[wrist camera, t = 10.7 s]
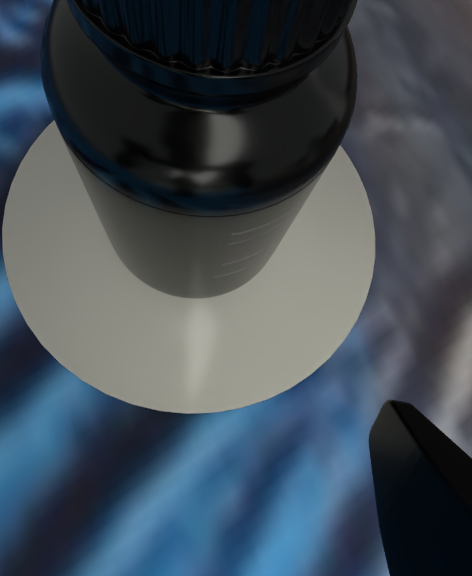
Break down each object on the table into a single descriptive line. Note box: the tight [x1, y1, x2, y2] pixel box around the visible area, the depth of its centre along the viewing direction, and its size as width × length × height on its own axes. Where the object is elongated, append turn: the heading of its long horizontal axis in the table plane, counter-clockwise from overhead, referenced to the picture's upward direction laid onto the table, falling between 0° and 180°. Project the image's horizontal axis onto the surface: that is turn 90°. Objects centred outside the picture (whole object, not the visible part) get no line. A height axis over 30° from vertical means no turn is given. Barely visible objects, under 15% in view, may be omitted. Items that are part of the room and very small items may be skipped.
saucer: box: [2, 120, 375, 414], centre depth 17 cm, size 15×15×1 cm
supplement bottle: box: [40, 0, 357, 299], centre depth 11 cm, size 7×7×12 cm
